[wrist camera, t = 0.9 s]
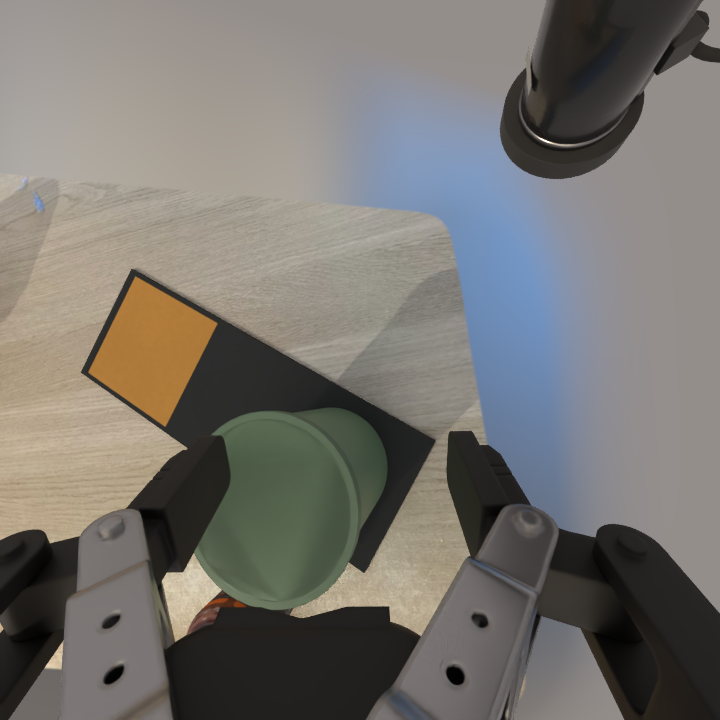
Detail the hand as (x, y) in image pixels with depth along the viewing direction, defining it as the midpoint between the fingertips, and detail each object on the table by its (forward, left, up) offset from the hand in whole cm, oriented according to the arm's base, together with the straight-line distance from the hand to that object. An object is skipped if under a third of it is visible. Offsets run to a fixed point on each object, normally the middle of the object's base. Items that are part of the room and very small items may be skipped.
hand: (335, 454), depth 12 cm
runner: (+16, -9, -21) cm, 28 cm away
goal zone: (+23, -19, -21) cm, 37 cm away
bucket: (+9, +1, -21) cm, 23 cm away
